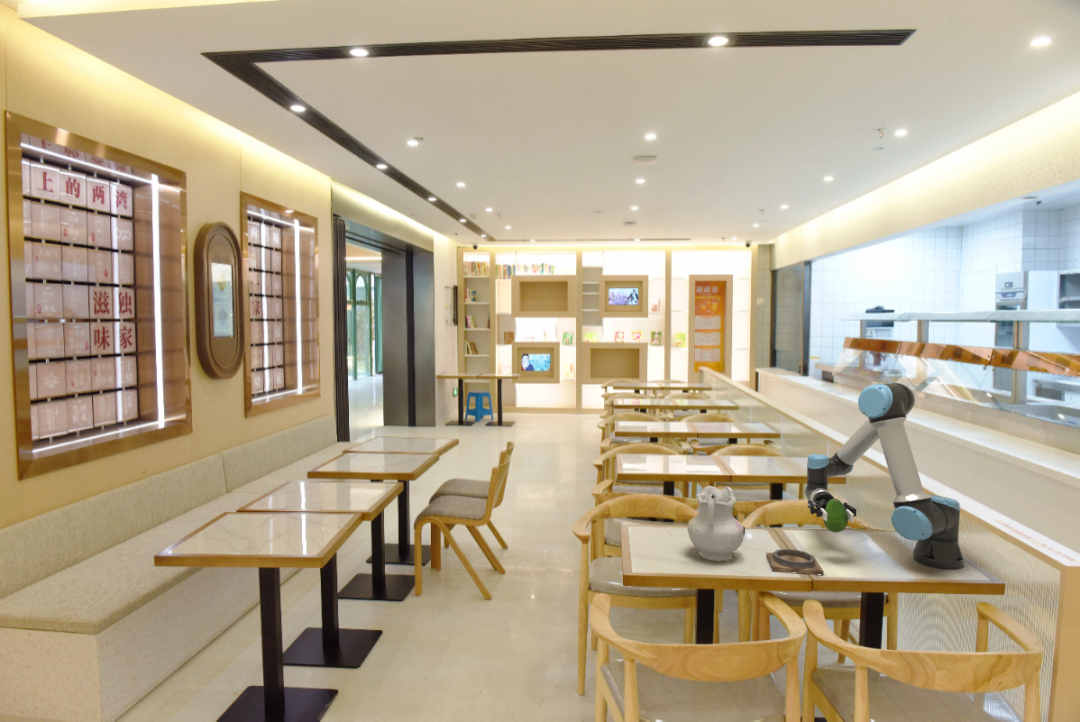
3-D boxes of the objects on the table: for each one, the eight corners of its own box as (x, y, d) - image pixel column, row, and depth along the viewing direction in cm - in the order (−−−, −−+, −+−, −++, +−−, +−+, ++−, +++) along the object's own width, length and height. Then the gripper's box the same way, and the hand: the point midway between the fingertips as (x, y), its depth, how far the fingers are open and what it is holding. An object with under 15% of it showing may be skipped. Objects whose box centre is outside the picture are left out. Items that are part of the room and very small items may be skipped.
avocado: (819, 532, 218) (820, 498, 217) (826, 527, 224) (827, 494, 223) (843, 537, 213) (844, 502, 212) (850, 532, 218) (851, 498, 218)
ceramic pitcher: (744, 573, 210) (752, 501, 208) (686, 564, 213) (693, 493, 212) (737, 551, 231) (744, 485, 229) (684, 543, 235) (691, 478, 233)
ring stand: (813, 560, 219) (814, 550, 219) (823, 575, 205) (823, 565, 205) (766, 556, 222) (766, 546, 222) (772, 571, 209) (772, 561, 208)
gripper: (852, 512, 233) (871, 530, 211) (794, 508, 238) (807, 526, 215) (852, 492, 233) (871, 508, 211) (794, 489, 237) (807, 505, 215)
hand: (839, 517), depth 213 cm, fingers closed on avocado, 8 cm apart
